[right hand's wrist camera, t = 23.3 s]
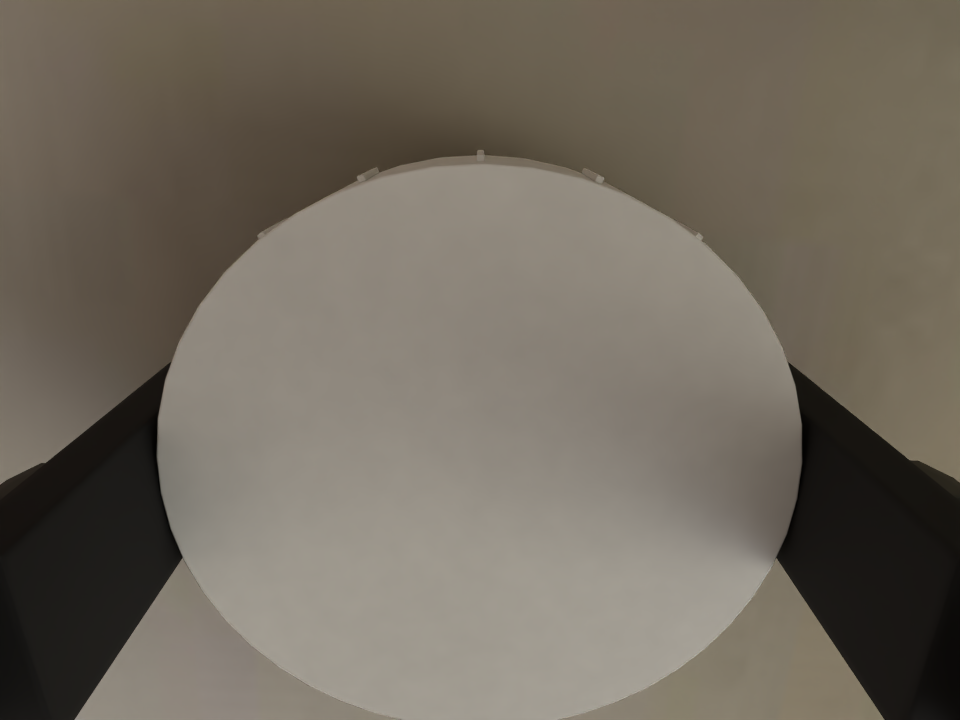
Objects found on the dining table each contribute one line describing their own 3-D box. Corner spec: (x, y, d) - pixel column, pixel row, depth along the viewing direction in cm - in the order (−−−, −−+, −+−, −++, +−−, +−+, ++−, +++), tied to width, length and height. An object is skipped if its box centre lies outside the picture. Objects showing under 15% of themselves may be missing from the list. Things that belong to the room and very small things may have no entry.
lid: (420, 0, 9) (406, -26, 8) (878, 396, 12) (949, 446, 10) (103, 479, 12) (40, 540, 11) (520, 722, 15) (525, 807, 13)
